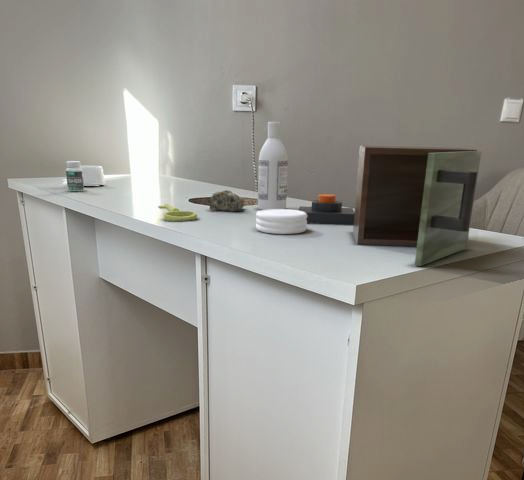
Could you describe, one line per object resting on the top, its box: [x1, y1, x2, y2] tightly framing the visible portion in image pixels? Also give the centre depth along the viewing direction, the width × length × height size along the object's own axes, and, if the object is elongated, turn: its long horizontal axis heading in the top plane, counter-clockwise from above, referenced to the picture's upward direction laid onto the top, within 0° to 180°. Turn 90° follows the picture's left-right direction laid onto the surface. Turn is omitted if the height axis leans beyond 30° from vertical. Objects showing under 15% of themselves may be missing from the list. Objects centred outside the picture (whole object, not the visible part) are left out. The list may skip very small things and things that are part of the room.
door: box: [414, 150, 482, 267], centre depth 84 cm, size 6×18×16 cm, turn 140°
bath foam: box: [257, 121, 289, 211], centre depth 134 cm, size 7×7×20 cm
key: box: [157, 203, 198, 222], centre depth 121 cm, size 7×12×2 cm, turn 45°
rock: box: [208, 189, 245, 212], centre depth 134 cm, size 7×8×4 cm
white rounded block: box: [80, 165, 106, 186], centre depth 182 cm, size 12×10×6 cm
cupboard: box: [352, 144, 478, 248], centre depth 99 cm, size 12×18×16 cm, turn 85°
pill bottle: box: [65, 160, 85, 192], centre depth 165 cm, size 5×5×8 cm
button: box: [318, 193, 336, 203], centre depth 121 cm, size 4×4×2 cm
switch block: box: [298, 199, 355, 226], centre depth 122 cm, size 12×10×4 cm
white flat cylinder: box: [255, 208, 308, 235], centre depth 109 cm, size 10×10×4 cm
